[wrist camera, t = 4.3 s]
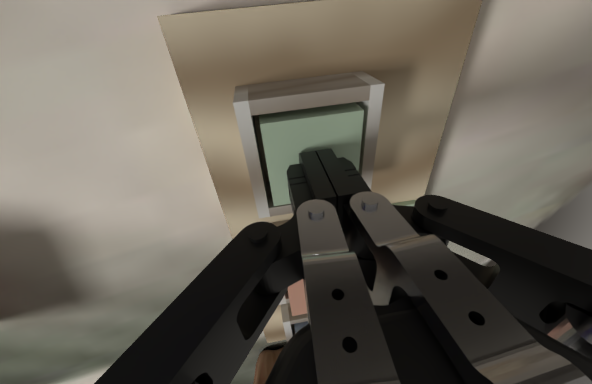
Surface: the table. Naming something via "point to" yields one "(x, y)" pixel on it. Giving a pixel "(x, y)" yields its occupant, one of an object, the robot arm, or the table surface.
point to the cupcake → (265, 365)
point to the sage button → (308, 139)
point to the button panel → (319, 92)
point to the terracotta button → (297, 298)
